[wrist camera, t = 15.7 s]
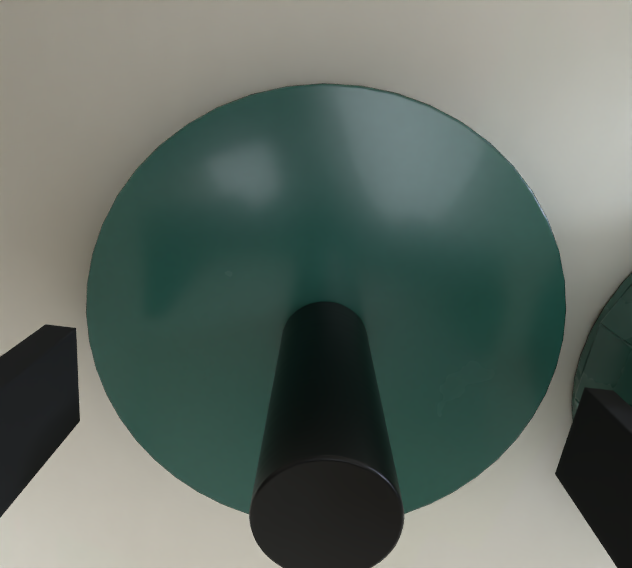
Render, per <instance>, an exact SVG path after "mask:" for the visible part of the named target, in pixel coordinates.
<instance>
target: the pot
mask: <svg viewBox="0 0 632 568" xmlns="http://www.w3.org/2000/svg"><path fill="white" fill-rule="evenodd" d="M584 387H587V388H596V389H605V390H613V391H614V392H616V393H617V394H618V395H619V396H620V397H621V398H622V399H623V400H624V401H625V402H627V403H628V404H629V405H630V406H631V407H632V273H631V274H630V275H629V276H628V277H627V279H626V280H625V281H624V282H623V283H622V284H621V285H620V287H619V288H618V289H617V291H616V292H615V294H614V295H613V296H612V298H611V299H610V300H609V302H608V303H607V304H606V306H605V307H604V309H603V311H602V312H601V314H600V316H599V318H598V319H597V321H596V323H595V325H594V326H593V328H592V330H591V332H590V334H589V337H588V339H587V341H586V344H585V346H584V349H583V351H582V354H581V356H580V360H579V364H578V368H577V371H576V375H575V379H574V388H573V397H572V416H573V420H574V417H575V414H576V411H577V408H578V405H579V402H580V399H581V396H582V393H583V390H584Z"/></svg>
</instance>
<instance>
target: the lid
mask: <svg viewBox="0 0 632 568" xmlns="http://www.w3.org/2000/svg"><path fill="white" fill-rule="evenodd" d="M86 316H87V325H88V334H89V342H90V346H91V350H92V354H93V358H94V362H95V366H96V370H97V372H98V375H99V377H100V380H101V382H102V385H103V387H104V390H105V392H106V394H107V396H108V398H109V400H110V402H111V403H112V405H113V407H114V409H115V411H116V412H117V414H118V416H119V418H120V419H121V421H122V422H123V423H124V425H125V426H126V427H127V429H128V430H129V431H130V433H131V434H132V435H133V437H134V438H135V439H136V441H137V442H138V443H139V444H140V445H141V446H142V447H143V448H144V449H145V450H146V451H147V452H148V453H149V454H150V455H151V457H152V458H153V459H154V460H155V461H157V462H158V463H159V464H160V465H161V466H163V467H164V468H165V469H166V470H167V471H169V472H170V473H171V474H172V475H173V476H175V477H176V478H177V479H179V480H181V481H182V482H184V483H185V484H187V485H188V486H190V487H191V488H193V489H194V490H196V491H197V492H199V493H201V494H203V495H205V496H207V497H209V498H211V499H213V500H215V501H217V502H219V503H221V504H223V505H226V506H228V507H231V508H233V509H236V510H239V511H241V512H244V513H246V514H249V520H250V527H251V530H252V533H253V536H254V538H255V540H256V542H257V544H258V545H259V547H260V548H261V550H262V551H263V552H264V553H265V554H266V555H267V556H268V557H269V558H270V559H271V560H272V561H274V562H275V563H276V564H278V565H279V566H281V567H283V568H372V567H373V566H375V565H376V564H378V563H379V562H381V561H382V560H383V559H384V558H385V557H386V556H387V555H388V554H389V553H390V552H391V551H392V550H393V548H394V547H395V545H396V544H397V542H398V540H399V538H400V535H401V532H402V529H403V524H404V514H405V513H408V512H410V511H413V510H416V509H418V508H421V507H424V506H426V505H429V504H431V503H433V502H435V501H437V500H439V499H441V498H443V497H445V496H447V495H449V494H451V493H453V492H454V491H456V490H457V489H459V488H460V487H462V486H464V485H465V484H467V483H468V482H470V481H471V480H473V479H474V478H476V477H477V476H478V475H479V474H481V473H482V472H483V471H484V470H485V469H487V468H488V467H489V466H490V465H491V464H493V463H494V462H495V461H496V460H497V459H498V458H499V457H500V456H501V455H502V454H503V453H504V452H505V451H506V450H507V449H508V448H509V447H510V446H511V445H512V444H513V442H514V441H515V440H516V439H517V438H518V436H519V435H520V434H521V432H522V431H523V430H524V428H525V427H526V426H527V424H528V423H529V422H530V420H531V419H532V417H533V416H534V414H535V412H536V410H537V408H538V407H539V405H540V403H541V401H542V400H543V398H544V396H545V394H546V392H547V389H548V387H549V384H550V382H551V379H552V377H553V374H554V372H555V369H556V366H557V362H558V358H559V354H560V350H561V346H562V342H563V336H564V326H565V316H566V299H565V280H564V275H563V269H562V264H561V259H560V254H559V250H558V247H557V244H556V241H555V238H554V235H553V233H552V230H551V227H550V224H549V221H548V219H547V217H546V216H545V214H544V212H543V210H542V208H541V206H540V204H539V202H538V201H537V199H536V197H535V195H534V193H533V192H532V190H531V189H530V188H529V186H528V185H527V184H526V182H525V181H524V180H523V178H522V177H521V176H520V174H519V173H518V172H517V170H516V169H515V167H514V166H513V165H512V164H511V163H510V162H509V161H508V160H507V159H506V158H505V157H504V156H503V155H502V154H501V153H500V152H499V151H498V150H497V149H496V148H495V147H494V146H493V145H492V144H491V143H490V142H488V141H487V140H486V139H484V138H483V137H482V136H480V135H479V134H477V133H476V132H475V131H473V130H472V129H471V128H469V127H468V126H467V125H465V124H464V123H462V122H461V121H459V120H457V119H455V118H453V117H452V116H450V115H448V114H446V113H444V112H442V111H440V110H438V109H437V108H435V107H433V106H431V105H428V104H426V103H423V102H420V101H417V100H415V99H412V98H409V97H406V96H403V95H401V94H398V93H394V92H389V91H384V90H379V89H375V88H370V87H365V86H359V85H342V84H326V83H322V84H310V85H297V86H286V87H282V88H277V89H273V90H269V91H264V92H260V93H255V94H251V95H248V96H246V97H243V98H241V99H238V100H235V101H233V102H230V103H228V104H225V105H222V106H220V107H217V108H215V109H214V110H212V111H210V112H208V113H207V114H205V115H203V116H201V117H199V118H198V119H196V120H194V121H192V122H190V123H189V124H187V125H186V126H184V127H183V128H182V129H180V130H179V131H178V132H176V133H175V134H174V135H172V136H171V137H170V138H169V139H167V140H166V141H165V142H163V143H162V144H161V145H159V146H158V147H157V149H156V150H155V151H154V152H153V153H152V154H151V155H150V156H149V157H148V158H147V159H146V160H145V161H144V162H143V163H142V164H141V165H140V166H139V167H138V168H137V169H136V170H135V172H134V173H133V175H132V176H131V177H130V179H129V180H128V181H127V183H126V184H125V186H124V187H123V188H122V190H121V191H120V193H119V194H118V195H117V197H116V199H115V201H114V203H113V205H112V207H111V209H110V211H109V213H108V215H107V217H106V218H105V220H104V222H103V224H102V227H101V230H100V233H99V236H98V239H97V242H96V245H95V248H94V251H93V254H92V260H91V265H90V271H89V276H88V282H87V303H86Z"/></svg>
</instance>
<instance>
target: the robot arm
mask: <svg viewBox="0 0 632 568" xmlns="http://www.w3.org/2000/svg"><path fill="white" fill-rule="evenodd" d="M79 421H80V413H79V389H78V364H77V339H76V328H72V327H63V326H54V325H46V324H45V325H44V326H43V327H41V328H40V329H39V330H37V331H36V332H34V333H33V334H32V335H30V336H29V337H27V338H26V339H25V340H23V341H22V342H20V343H19V344H18V345H16V346H15V347H13V348H12V349H11V350H9V351H8V352H6V353H5V354H4V355H2V356H1V357H0V517H1V516H2V515H3V514H4V512H5V511H6V510H7V509H8V508H9V506H10V505H11V504H12V503H13V501H14V500H15V499H16V498H17V497H18V495H19V494H20V493H21V492H22V491H23V489H24V488H25V487H26V486H27V484H28V483H29V482H30V481H31V480H32V478H33V477H34V476H35V475H36V474H37V472H38V471H39V470H40V469H41V467H42V466H43V465H44V464H45V463H46V461H47V460H48V459H49V458H50V457H51V455H52V454H53V453H54V452H55V451H56V449H57V448H58V447H59V446H60V444H61V443H62V442H63V441H64V440H65V438H66V437H67V436H68V435H69V434H70V432H71V431H72V430H73V429H74V427H75V426H76V425H77V424H78V423H79ZM555 475H556V476H557V478H558V479H559V481H560V482H561V484H562V485H563V487H564V488H565V490H566V491H567V493H568V494H569V496H570V497H571V499H572V500H573V502H574V503H575V505H576V506H577V508H578V509H579V511H580V512H581V514H582V515H583V517H584V518H585V520H586V521H587V523H588V524H589V526H590V527H591V529H592V530H593V532H594V533H595V535H596V536H597V538H598V539H599V541H600V542H601V544H602V545H603V547H604V548H605V550H606V551H607V553H608V554H609V556H610V557H611V559H612V560H613V562H614V563H615V565H616V566H617V568H632V407H631V406H630V405H629V404H628V403H627V402H625V401H624V400H623V399H622V398H621V397H620V396H619V395H618V394H617V393H616V392H614V391H613V390H605V389H596V388H587V387H584V390H583V393H582V396H581V399H580V402H579V405H578V408H577V411H576V414H575V417H574V420H573V423H572V425H571V428H570V431H569V434H568V437H567V440H566V443H565V446H564V449H563V452H562V455H561V458H560V461H559V464H558V467H557V469H556V472H555Z"/></svg>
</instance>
